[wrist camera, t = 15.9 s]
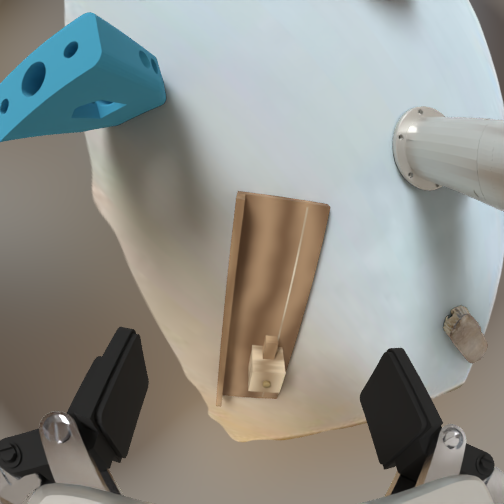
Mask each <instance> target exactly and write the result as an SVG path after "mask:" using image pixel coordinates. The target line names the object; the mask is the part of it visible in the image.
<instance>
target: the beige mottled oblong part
mask: <svg viewBox="0 0 504 504" xmlns="http://www.w3.org/2000/svg"><path fill="white" fill-rule="evenodd" d="M451 314H452V317H450V318H449V319H448V316H447V317H446V318H445V322H444V327H443V328H444V329H445V330H444V331H445V332H446V334H447V335H448V336H449V337H450V338H451V340H452V342H453V344H454V345H455V346H456V347H457V349H458V350H459V351H460V352H461V354H462V355H463V356H464V357H465V359H466V360H467V361H468V362H470V363H475V362H477V361H478V360H480V359H481V358H482V357H483V355H484V354H485V352H486V350H487V347H488V344H487V341H486V339H485V337H484V334H483V333H482V332H481V327H480V326H479V324H478V322H477V321H476V320H475V319H474V318H473V317H472V316H471V315H470V313H469V311H468V309H467V308H466V307H464V306H463V307H462V306H458V307H455V308H454V309H452V310H451Z"/></svg>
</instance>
